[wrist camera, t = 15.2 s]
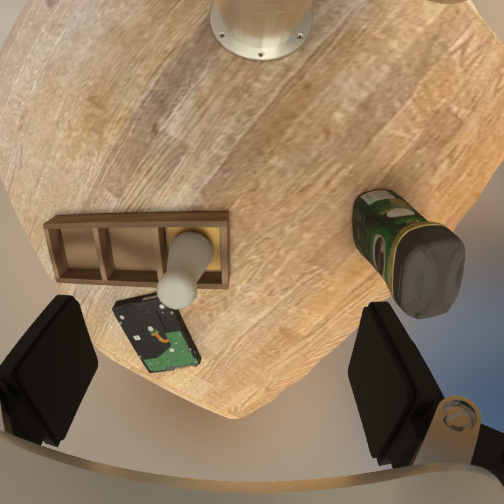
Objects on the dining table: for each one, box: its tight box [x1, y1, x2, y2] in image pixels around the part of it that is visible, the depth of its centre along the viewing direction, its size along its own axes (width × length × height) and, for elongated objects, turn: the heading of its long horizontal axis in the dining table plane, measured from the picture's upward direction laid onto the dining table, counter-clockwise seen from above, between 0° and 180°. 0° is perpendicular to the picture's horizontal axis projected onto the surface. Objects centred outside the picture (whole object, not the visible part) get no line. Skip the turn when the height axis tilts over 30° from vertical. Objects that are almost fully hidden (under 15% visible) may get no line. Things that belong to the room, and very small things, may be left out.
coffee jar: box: [353, 190, 465, 319], centre depth 35 cm, size 10×8×19 cm
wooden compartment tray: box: [43, 211, 230, 289], centre depth 43 cm, size 10×27×4 cm, turn 89°
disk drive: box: [112, 293, 201, 373], centre depth 50 cm, size 10×3×15 cm
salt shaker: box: [157, 231, 213, 310], centre depth 38 cm, size 6×6×13 cm
